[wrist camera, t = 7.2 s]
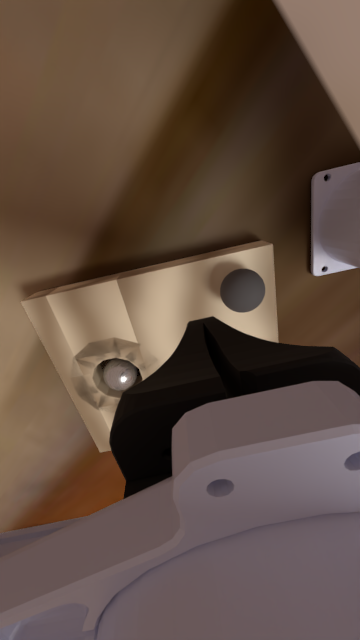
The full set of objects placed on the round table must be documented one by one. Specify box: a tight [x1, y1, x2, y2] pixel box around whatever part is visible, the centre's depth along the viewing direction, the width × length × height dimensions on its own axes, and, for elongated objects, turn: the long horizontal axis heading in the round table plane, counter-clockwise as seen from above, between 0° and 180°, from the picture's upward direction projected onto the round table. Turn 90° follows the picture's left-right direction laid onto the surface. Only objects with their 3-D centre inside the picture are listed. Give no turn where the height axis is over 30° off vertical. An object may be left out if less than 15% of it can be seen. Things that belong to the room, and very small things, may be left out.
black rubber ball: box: [220, 269, 265, 313], centre depth 18 cm, size 3×3×3 cm
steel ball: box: [103, 358, 137, 391], centre depth 23 cm, size 3×3×3 cm
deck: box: [21, 240, 278, 452], centre depth 23 cm, size 20×18×2 cm
